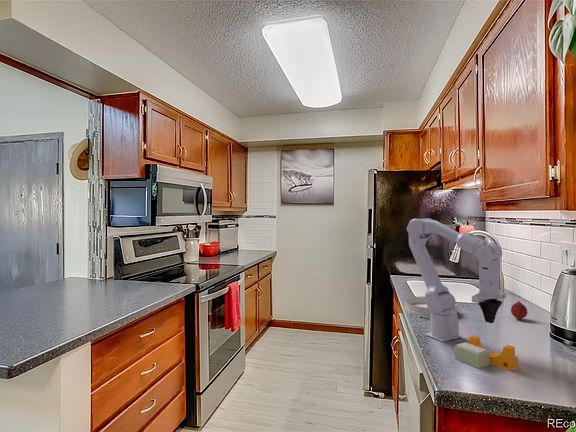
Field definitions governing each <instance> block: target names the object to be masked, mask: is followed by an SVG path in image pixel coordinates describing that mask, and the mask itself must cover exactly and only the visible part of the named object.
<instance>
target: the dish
mask: <svg viewBox="0 0 576 432" xmlns="http://www.w3.org/2000/svg"><path fill="white" fill-rule="evenodd" d="M404 302H405V305H404V312H405V311H406V312H408V313H410V314H412V315H415V316H419V317H423V318H422V319H424V318H428V319H427V320H431V313H430V310H429V309H428V307H427V299H426V296H411V297H407V298H406V299H405V301H404ZM452 311H453V312H454V313H456V315H457V316H458V304H457V303H456V304H455V307H454V308H452ZM406 312H405V313H406ZM412 315H411V316H412ZM419 317H418V318H419Z"/></svg>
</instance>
